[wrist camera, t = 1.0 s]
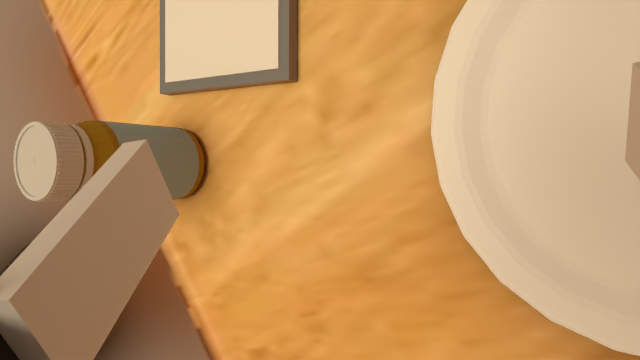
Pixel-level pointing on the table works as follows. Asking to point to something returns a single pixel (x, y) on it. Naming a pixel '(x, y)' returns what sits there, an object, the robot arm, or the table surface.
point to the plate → (546, 155)
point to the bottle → (99, 156)
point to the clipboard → (226, 44)
